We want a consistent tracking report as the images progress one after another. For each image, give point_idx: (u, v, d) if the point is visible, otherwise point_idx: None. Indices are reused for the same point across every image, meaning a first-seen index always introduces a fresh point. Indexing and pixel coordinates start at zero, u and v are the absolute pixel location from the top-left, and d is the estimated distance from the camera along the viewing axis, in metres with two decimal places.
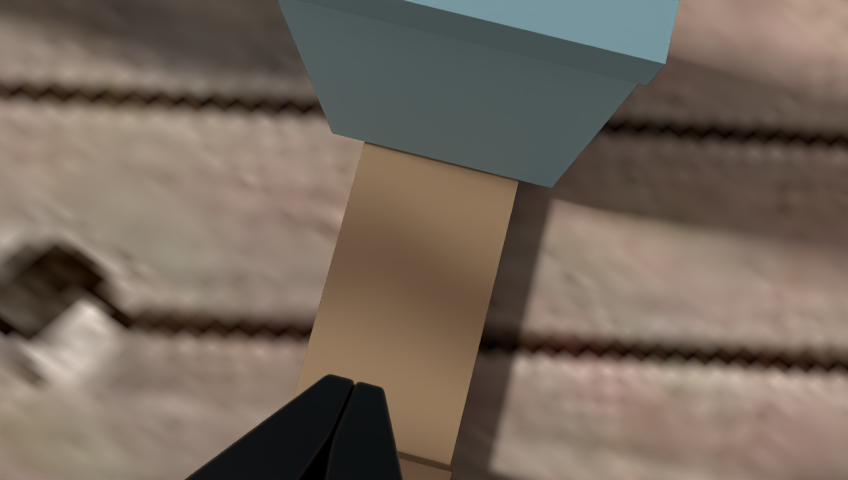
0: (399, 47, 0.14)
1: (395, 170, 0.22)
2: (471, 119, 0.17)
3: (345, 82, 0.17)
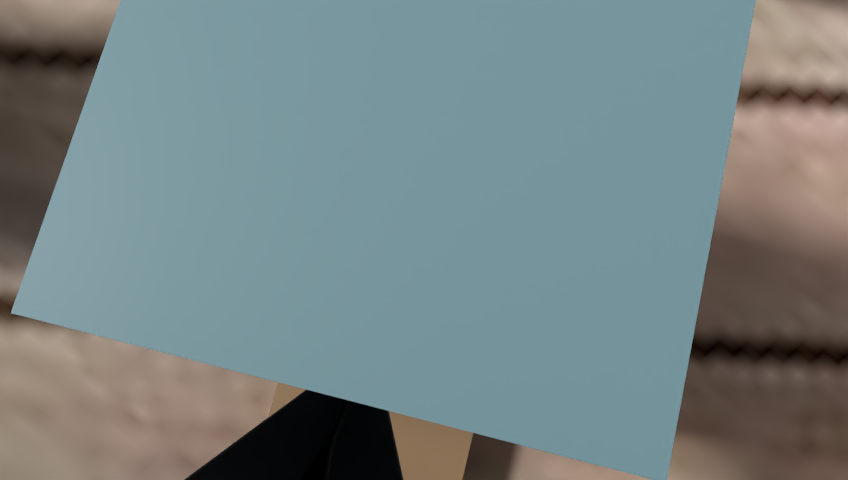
0: None
1: None
2: None
3: None
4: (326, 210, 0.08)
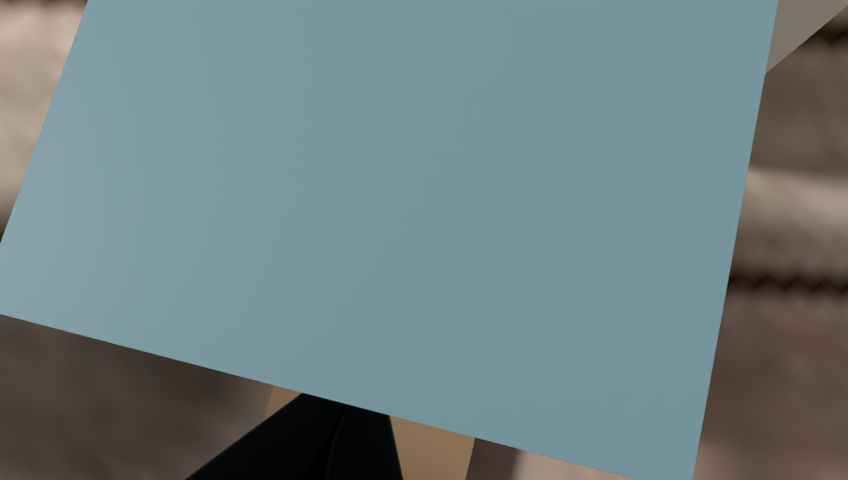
0: None
1: None
2: None
3: None
4: (320, 197, 0.07)
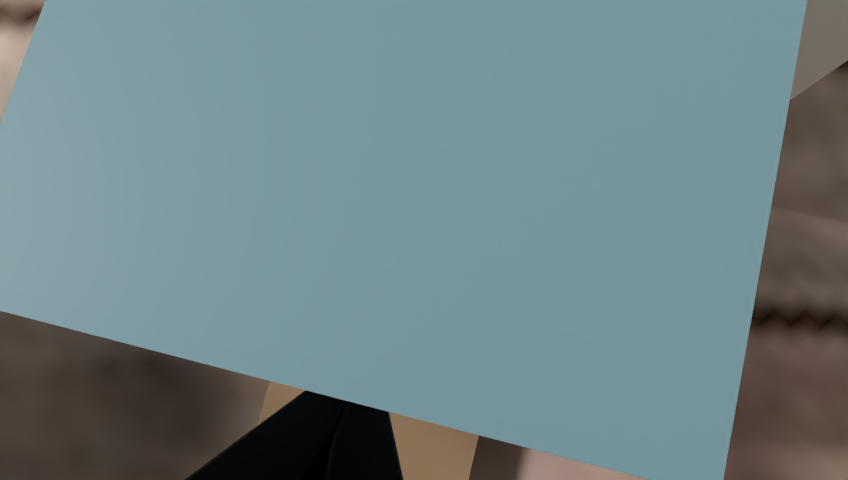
0: None
1: None
2: None
3: None
4: (313, 173, 0.07)
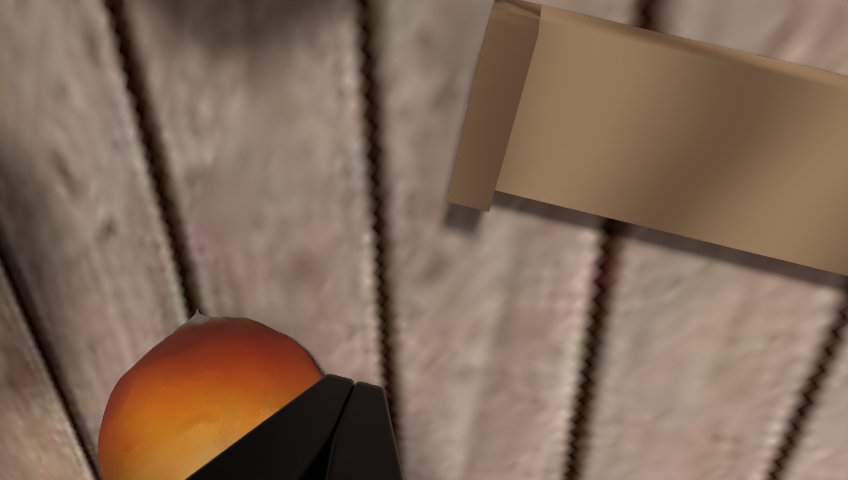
0: None
1: (847, 139, 0.17)
2: None
3: None
4: None
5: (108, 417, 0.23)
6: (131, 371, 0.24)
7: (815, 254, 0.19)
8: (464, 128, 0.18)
